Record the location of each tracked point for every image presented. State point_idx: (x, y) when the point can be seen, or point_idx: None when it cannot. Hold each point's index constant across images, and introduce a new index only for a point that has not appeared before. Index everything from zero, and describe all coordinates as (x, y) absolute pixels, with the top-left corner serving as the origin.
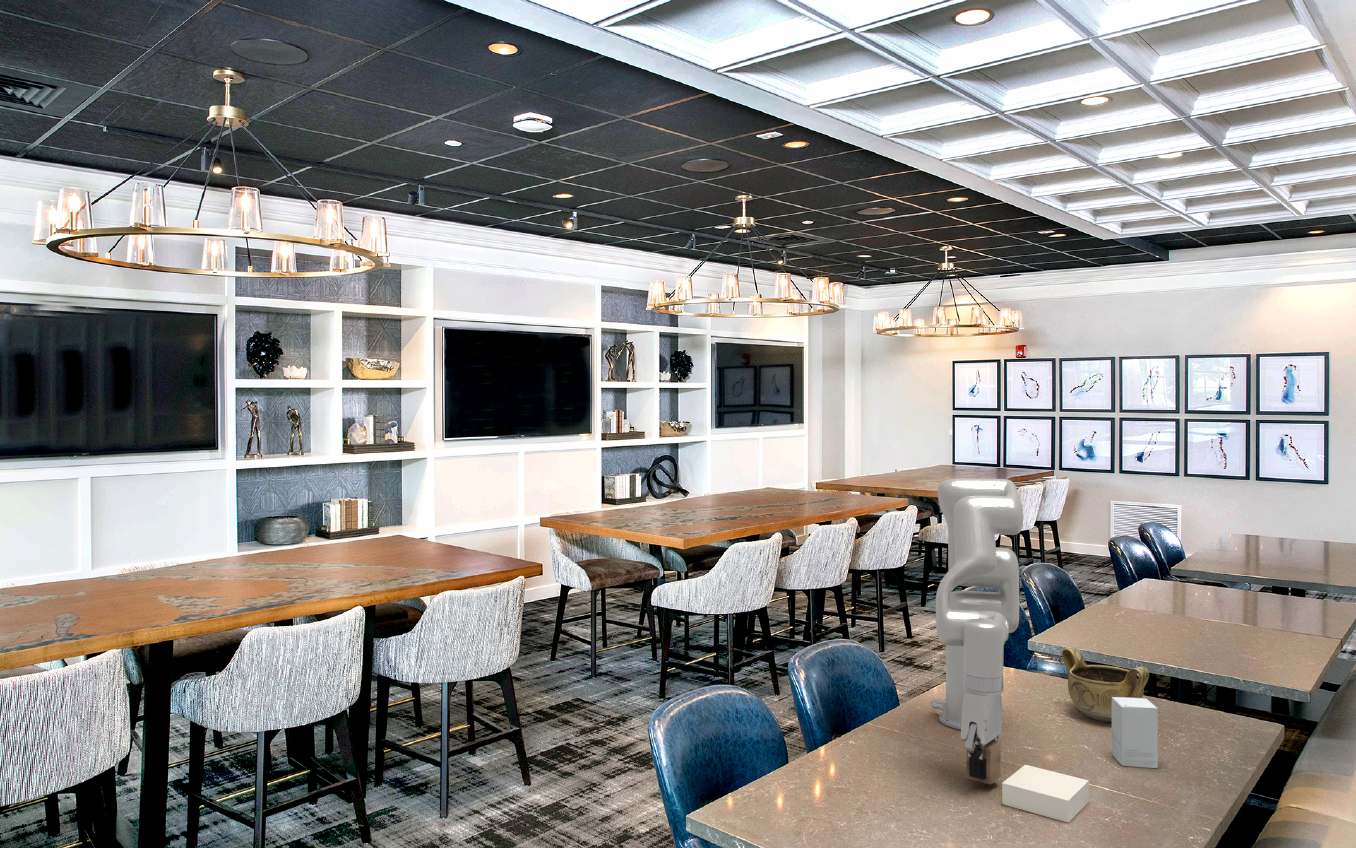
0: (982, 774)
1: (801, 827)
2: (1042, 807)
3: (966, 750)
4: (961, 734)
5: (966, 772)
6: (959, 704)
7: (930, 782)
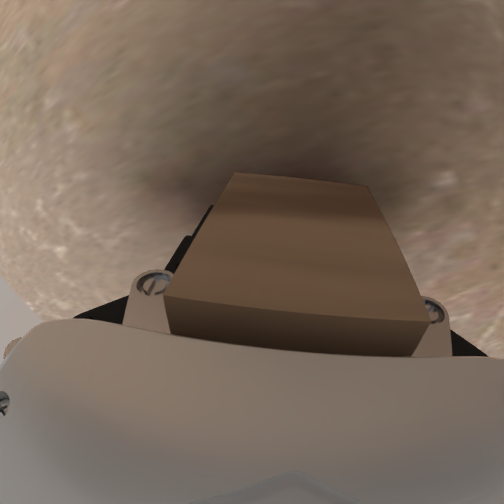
0: None
1: None
2: None
3: (186, 254)
4: (4, 359)
5: (228, 184)
6: None
7: (169, 27)
